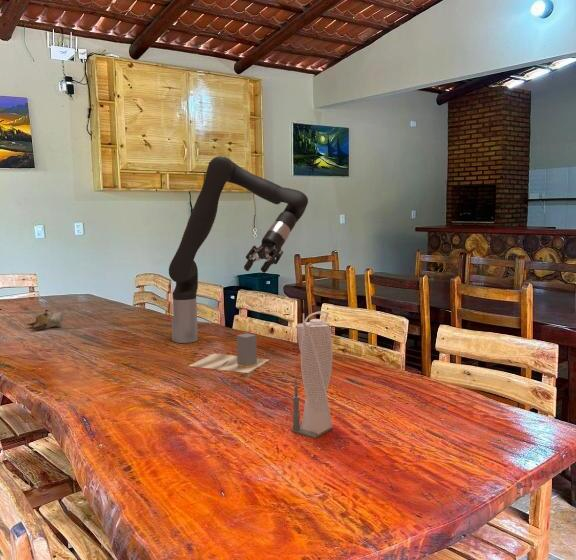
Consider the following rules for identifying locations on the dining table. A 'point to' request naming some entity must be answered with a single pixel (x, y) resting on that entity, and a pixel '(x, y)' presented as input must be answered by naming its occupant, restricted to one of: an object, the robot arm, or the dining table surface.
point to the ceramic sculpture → (47, 320)
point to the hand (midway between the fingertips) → (254, 270)
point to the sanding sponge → (246, 350)
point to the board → (226, 364)
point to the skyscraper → (314, 378)
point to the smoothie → (300, 333)
